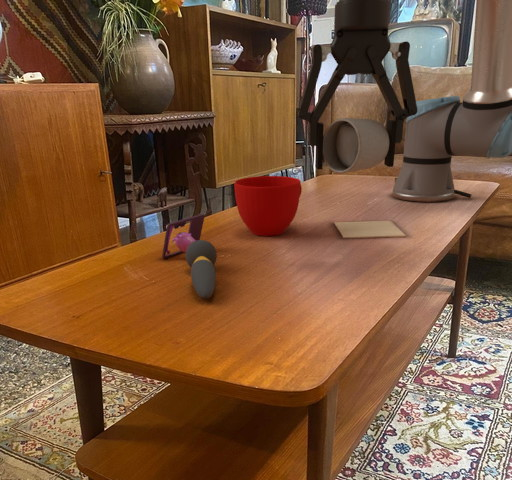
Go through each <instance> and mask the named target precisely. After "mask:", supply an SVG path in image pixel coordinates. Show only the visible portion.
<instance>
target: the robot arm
mask: <svg viewBox="0 0 512 480" xmlns="http://www.w3.org/2000/svg"><path fill="white" fill-rule="evenodd" d="M390 12H391V1H390V0H338V1H337V2H336V3H335V5H334V21H333V22H334V23H333V38H332V41H331V43H330V44H322V45H321V44H315V45H313V46H311V49H310V54H311V55H310V56H311V64H310V67H309V71H308V74H307V78H306V82H305V86H304V89H303V91H302V96H301V99H300V102H299V106H298V109H297V113H296V115H297V117H298V118H299V119H301V120H303V121H306V122H307V123H308V143H309V145H310V146H311V147H315V158H314V159H315V164H314V166H315V167H314V168H316V169H317V170H323V166H322V165H323V136H324V128H325V127H324V125H325V124H324V123H323V122H319V121H320V119H321V118H322V116H323V114H324V112H325V110H326V108H327V107H328V106H329V104H330V101H331V100H332V98H333V96H334V95H335V93H336V91H337V89H338V87H339V85H340V84H341V82H342V81H343V80H344V78H345V76H356V75H371V76H372V78H373V79H374V81H375V83H376V84H377V87H378V89H379V91H380V93H381V95H382V97H383V99H384V101H385V103H386V106H387V108H388V110H389V112H390V115H391V116H392V119H388V120H387V122H386V123H387V124H386V130H387V132H388V134H389V140H390V145H389V150H388V153H387V155H386V157H385V159H384V160H383V161H384V163H383V165H384V166H386V167H388V168H394V166H395V165H394V163H395V151H396V144H401V142H402V140H403V134H404V133H403V131H404V123H405V134H404V145H403V157H402V165H401V167H400V170H399V173H398V175H397V177H394V184H393V188H392V192H391V193H392V195H391V196H392V197H393V198H395V199H398V200H403V201H409V202H419V203H436V202H445V201H449V200H453V199H454V198H455V195H459V196H462V197H465V198H468V199H471V197H472V194H471V193H469V192H466V191H465V192H464V191H462V190H459V189H456V188H455V183H454V179H453V172H452V158H453V156H458V157H459V156H460V157H475V158H486V159H491V158H492V159H495V158H496V159H501V158H503V159H504V158H506V157H508V156H510V155H511V154H512V0H475V16H474V17H475V18H474V30H473V31H474V33H473V48H472V60H471V61H472V62H471V63H472V64H471V79H470V88H469V90H468V91H467V92H466V93H465V94H464V95H463V96H462V102H461V98H460V95H451V96H443V97H436V98H430V99H429V98H428V99H421V100H418V101H417V100H416V93H415V88H414V83H413V78H412V73H411V72H412V71H411V66H410V62H409V57H410V51H411V50H410V49H411V44H410V42H409V41H407V40H405V41H401V42H391V41H390V38H389V25H390ZM389 52H390V53H391V57H392V59H393V60H395V67H396V73H397V79H398V84H399V88H400V89H399V90H400V94H401V99H402V103H403V107H402V105H401V103H400V100H399V98H398V96H397V94H396V92H395V90H394V88H393V86H392V84H391V82H390V79H389V78H388V75H387V71H386V68H385V67H384V65H383V61H384V59H385V58H386V56H387V55H388V54H389ZM329 54H331V56H332V58H333V59H334V61H335V62H336V67H335V68H334V70H333V72H332V74H331V77H330V79H329V80H328V82H327V83H326V86H325V87H324V88H323V91H322V93H321V94H320V96H319V98H318V100H317V102H316V103H315V105H314V107H313V108H312V111H311V112H310V111H309V110H310V107H311V103H312V101H313V100H312V99H313V97H314V93H315V89H316V86H317V83H318V79H319V76H320V72H321V68H322V64H323V62H326V61H327V58H328V55H329ZM405 120H406V121H405Z"/></svg>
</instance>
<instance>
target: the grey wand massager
mask: <svg viewBox="0 0 512 480" xmlns="http://www.w3.org/2000/svg"><path fill="white" fill-rule="evenodd" d="M217 256H218V255H217V250H216V248H215V246H214V245H213V244H212V243H211V242H210V241H208V240H204V239H200V240H197V241H194V242H192V243H191V244H190V245H189V246H188V247H187V250H186V253H185V261H186V263H187V265H188V266H189V267H190V278H191V283H192V285H193V289H194V291H195V292H196V294H197V295H198V296H199V298H201V299H203V300H208V299H210V298H211V297H212V295H214V293H215V292H214V291H215V289H216V283H217V282H216V281H217V274H216V269H215V264H216V262H217V258H218V257H217Z"/></svg>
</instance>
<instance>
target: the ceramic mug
mask: <svg viewBox="0 0 512 480" xmlns="http://www.w3.org/2000/svg"><path fill="white" fill-rule="evenodd" d="M389 145H390V140H389V134H388V132H387V127H386V126H385V125H384V124H383V123H381V122H380V121H377V120H375V119H371V118H352V117H351V118H350V117H342V118H338V119H337V118H336V120H333V122H331V123H330V124H329V125H328V126H327V128H326V129H325V132H324V133H323V165H322V167H327V168H328V169H329V170H330V171H332V172H334V173H336V174H347V173H352V172H353V173H354V172H358V171H362V170H369V169H372V168H375V167H377V166H379V165H380V164H381V163H382V162H383V161H385V157H386V155H387V153H388V150H389Z"/></svg>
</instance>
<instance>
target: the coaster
mask: <svg viewBox="0 0 512 480" xmlns="http://www.w3.org/2000/svg"><path fill="white" fill-rule="evenodd" d="M333 224H334V225H335V227H336V229H337V230H338V232H339V234H340V236H342V238H343V239H372V238H373V239H375V238H378V239H379V238H406V237H407V235H406V234H405V233H404V231H402V230H401V229H400V228H399V227H398V226H396V224H395V223H393V222H392V221H391V220H367V221H362V220H361V221H360V220H359V221H334V222H333Z"/></svg>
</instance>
